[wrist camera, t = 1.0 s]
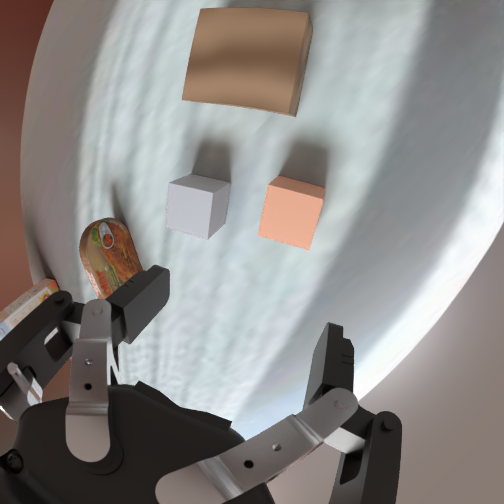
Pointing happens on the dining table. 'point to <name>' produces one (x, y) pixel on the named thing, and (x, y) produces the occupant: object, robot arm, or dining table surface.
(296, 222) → the terracotta cube
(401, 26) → the dining table surface
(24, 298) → the cracker box
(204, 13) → the walnut block
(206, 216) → the grey-blue cube
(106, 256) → the tin
